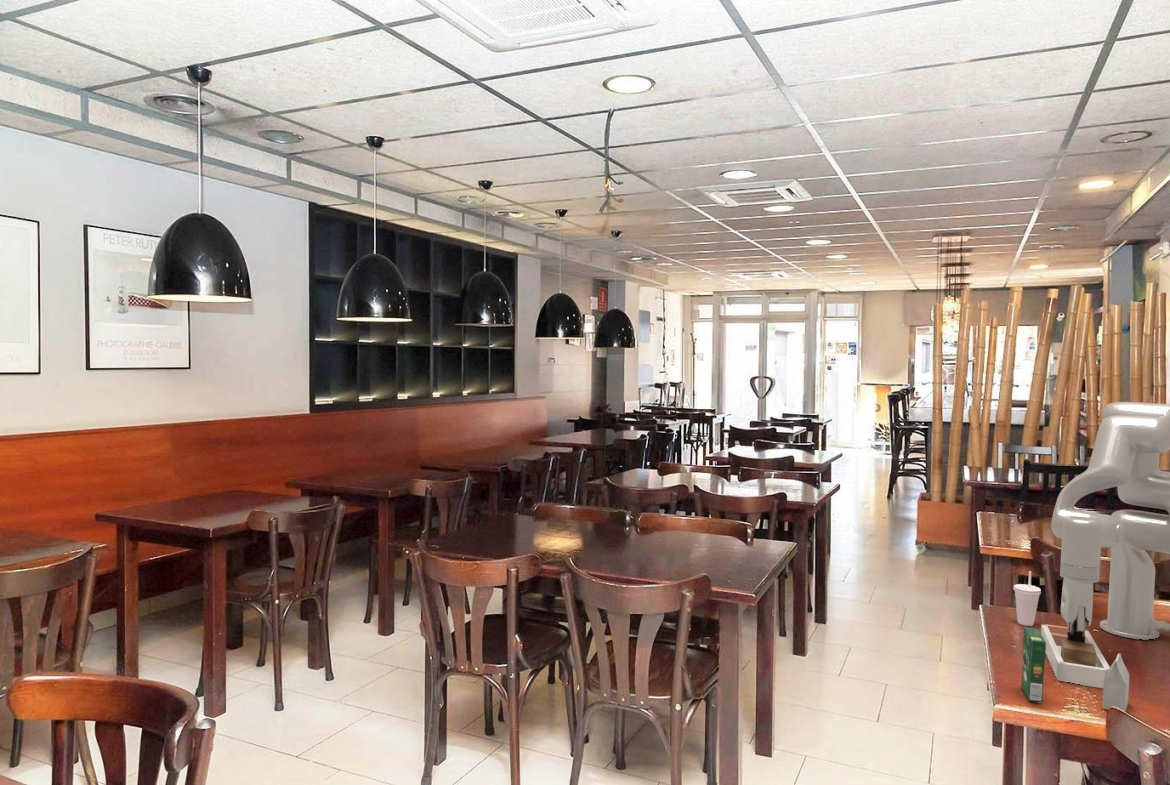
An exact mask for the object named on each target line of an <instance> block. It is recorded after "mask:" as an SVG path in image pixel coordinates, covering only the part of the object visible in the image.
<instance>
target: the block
mask: <svg viewBox="0 0 1170 785" xmlns="http://www.w3.org/2000/svg"><path fill="white" fill-rule="evenodd" d="M1061 657H1062V659H1063V661H1064V662H1066V663H1073V664H1080V665H1086V666H1093V667H1096V650H1095V648H1094V645H1093V644H1089V643H1083V642H1077V641H1070V640H1064V639H1062V645H1061Z"/></svg>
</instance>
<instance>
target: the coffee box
mask: <svg viewBox="0 0 1170 785" xmlns="http://www.w3.org/2000/svg"><path fill="white" fill-rule="evenodd" d="M1046 655H1047V654H1046V641H1045V640H1044V638H1043V636H1042V635H1041V630H1039V628H1034V627H1028V626H1025V627H1024V628H1023V647H1022V663H1021V664H1022V666H1021V684H1020V686H1021V688H1022V691H1023V693H1024V695H1025V698H1026V699H1028V700H1027V702H1029V701H1034V702H1033V703H1035V702H1042V703H1043V695H1044V694H1043V693H1044V680H1045V668H1046V667H1045V666H1046Z"/></svg>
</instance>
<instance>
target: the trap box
mask: <svg viewBox="0 0 1170 785" xmlns="http://www.w3.org/2000/svg"><path fill="white" fill-rule="evenodd" d="M1068 632H1069V631H1068V626H1061V625H1054V624H1053V625H1052V624H1047V623H1041V624H1040V633H1041V635H1042V636H1043V638H1044V640H1045V641H1046V654H1045V655H1046V656H1047V659H1048V661H1049V664H1050V667H1051V666H1052V667H1051V669H1052V668H1053V669H1052V671H1054V672H1053V674H1054V673H1055V674H1054V676H1056V677H1055V679H1056V678H1057V679H1056V681H1057V680H1060V681H1065V682H1064V683H1066V682H1071V683H1070V684H1072V683H1075V684H1074V685H1078V684H1080V685H1079V686H1085V687H1093V688H1099V689H1103V686H1104V678H1105V676H1106V674H1107V671H1108V669H1109V668H1110V667H1111V666H1110V665H1109V663H1108V662H1107V660H1106V658H1105V656H1104V655H1103V653H1102V651H1101V650H1100V648H1099V646H1098V645H1097V643H1096V642H1095V639H1094V638H1093V637H1092V635H1091V633H1090V631H1089V630H1088V629H1085V643H1089V644H1093V645H1094V648H1095V650H1096V667H1093V666H1086V665H1080V664H1073V663H1066V662H1064V661H1063V659H1062V657H1061V645H1062V639H1064V640H1067V634H1068ZM1057 645H1058V646H1057ZM1060 681H1059V682H1060Z"/></svg>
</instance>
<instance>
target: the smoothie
mask: <svg viewBox="0 0 1170 785" xmlns="http://www.w3.org/2000/svg"><path fill="white" fill-rule="evenodd" d="M1027 583H1028V584H1025V583H1024V584H1022V583H1019V584H1014V585H1013V591H1014V598H1015V607H1016V608H1015V609H1016V620H1017V624H1019V625H1021V626H1025V627H1028V626H1029V627H1033V626H1034V623H1035V619H1036V614H1037V609H1038V604H1039V598H1040V595H1041V594H1042V592H1041V591H1042V590H1041V588H1040V587H1038V586H1036V585H1032V571H1031V570H1029V571H1028V582H1027Z"/></svg>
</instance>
